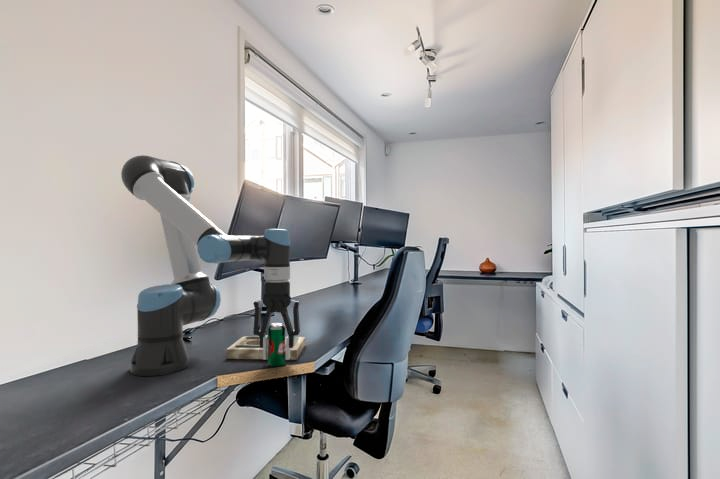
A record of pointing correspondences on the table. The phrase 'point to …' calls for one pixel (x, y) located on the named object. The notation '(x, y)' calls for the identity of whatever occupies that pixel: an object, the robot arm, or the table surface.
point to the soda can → (276, 344)
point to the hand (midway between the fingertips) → (276, 358)
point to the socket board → (251, 348)
